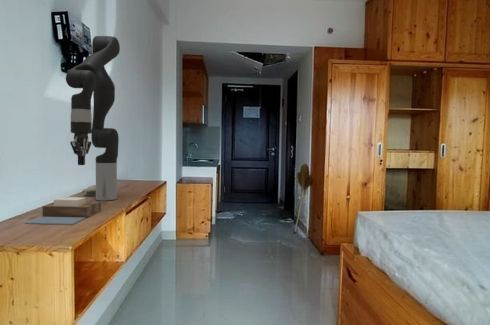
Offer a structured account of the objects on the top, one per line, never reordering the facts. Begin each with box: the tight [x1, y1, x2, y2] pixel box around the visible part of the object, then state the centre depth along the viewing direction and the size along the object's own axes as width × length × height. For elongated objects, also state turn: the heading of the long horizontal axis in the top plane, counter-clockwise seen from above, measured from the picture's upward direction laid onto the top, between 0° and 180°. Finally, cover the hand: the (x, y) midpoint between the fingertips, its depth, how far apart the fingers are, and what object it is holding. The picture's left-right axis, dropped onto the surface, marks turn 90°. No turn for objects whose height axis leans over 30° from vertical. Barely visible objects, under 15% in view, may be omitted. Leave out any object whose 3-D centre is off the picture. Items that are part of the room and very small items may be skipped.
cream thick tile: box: [53, 196, 87, 207], centre depth 129 cm, size 6×9×2 cm, turn 89°
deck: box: [42, 200, 102, 219], centre depth 131 cm, size 12×16×4 cm
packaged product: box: [81, 184, 96, 197], centre depth 176 cm, size 18×5×10 cm
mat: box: [24, 216, 87, 226], centre depth 120 cm, size 10×16×1 cm, turn 89°
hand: (81, 165), depth 137 cm, fingers closed
